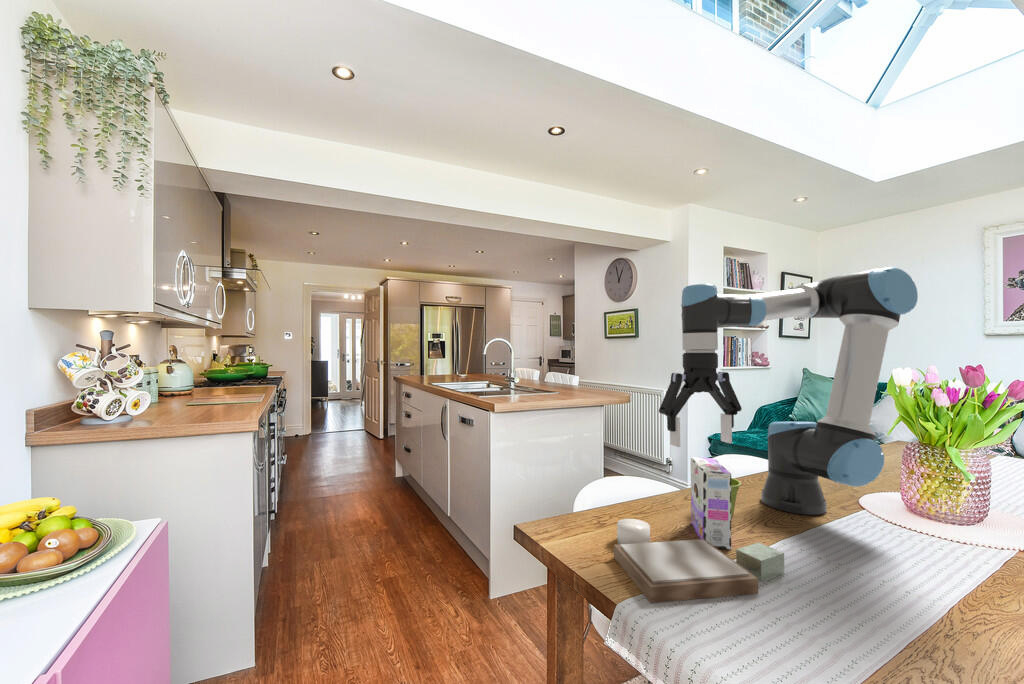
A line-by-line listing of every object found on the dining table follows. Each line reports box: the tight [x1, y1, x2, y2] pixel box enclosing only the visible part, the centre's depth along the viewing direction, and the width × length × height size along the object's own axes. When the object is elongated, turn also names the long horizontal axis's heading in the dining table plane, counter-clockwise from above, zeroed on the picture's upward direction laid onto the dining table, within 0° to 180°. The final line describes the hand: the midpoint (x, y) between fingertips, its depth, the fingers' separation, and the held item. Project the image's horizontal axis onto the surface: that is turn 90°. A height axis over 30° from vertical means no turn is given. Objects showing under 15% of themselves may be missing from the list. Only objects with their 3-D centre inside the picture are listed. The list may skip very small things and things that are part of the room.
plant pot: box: [731, 477, 742, 518], centre depth 112 cm, size 9×9×9 cm
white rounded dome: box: [616, 518, 651, 544], centre depth 95 cm, size 7×7×4 cm
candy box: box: [690, 456, 732, 550], centre depth 99 cm, size 14×6×16 cm, turn 168°
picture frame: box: [613, 538, 759, 604], centre depth 82 cm, size 20×16×3 cm
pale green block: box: [735, 542, 785, 582], centre depth 83 cm, size 7×5×4 cm
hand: (701, 444), depth 99 cm, fingers open, 13 cm apart
